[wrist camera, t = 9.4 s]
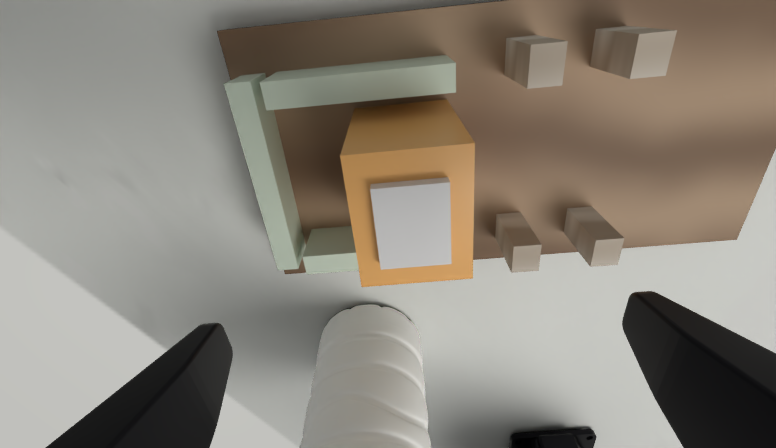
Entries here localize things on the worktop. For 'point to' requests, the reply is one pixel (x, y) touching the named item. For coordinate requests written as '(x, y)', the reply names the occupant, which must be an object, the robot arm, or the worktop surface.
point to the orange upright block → (410, 193)
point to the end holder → (266, 156)
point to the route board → (557, 116)
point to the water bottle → (368, 383)
